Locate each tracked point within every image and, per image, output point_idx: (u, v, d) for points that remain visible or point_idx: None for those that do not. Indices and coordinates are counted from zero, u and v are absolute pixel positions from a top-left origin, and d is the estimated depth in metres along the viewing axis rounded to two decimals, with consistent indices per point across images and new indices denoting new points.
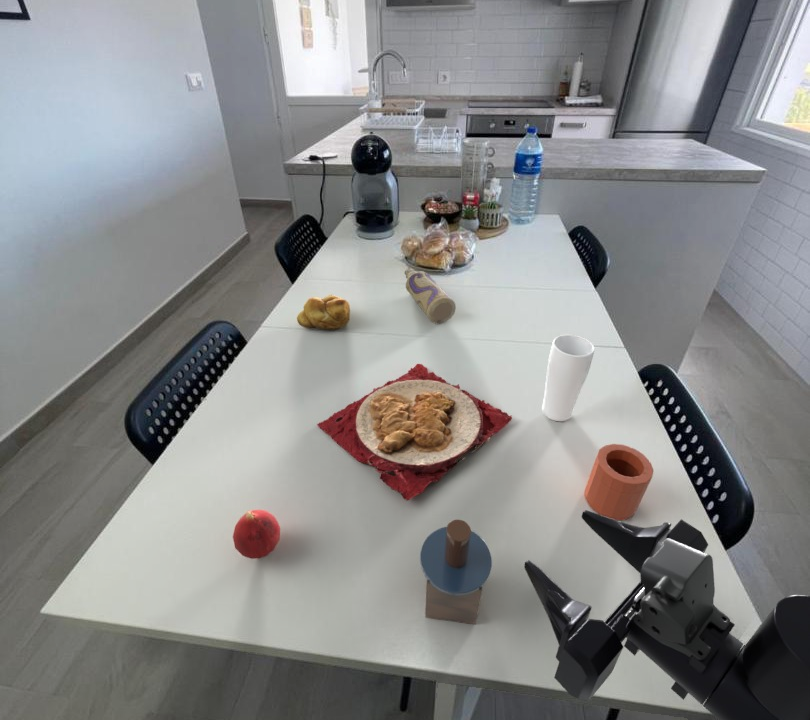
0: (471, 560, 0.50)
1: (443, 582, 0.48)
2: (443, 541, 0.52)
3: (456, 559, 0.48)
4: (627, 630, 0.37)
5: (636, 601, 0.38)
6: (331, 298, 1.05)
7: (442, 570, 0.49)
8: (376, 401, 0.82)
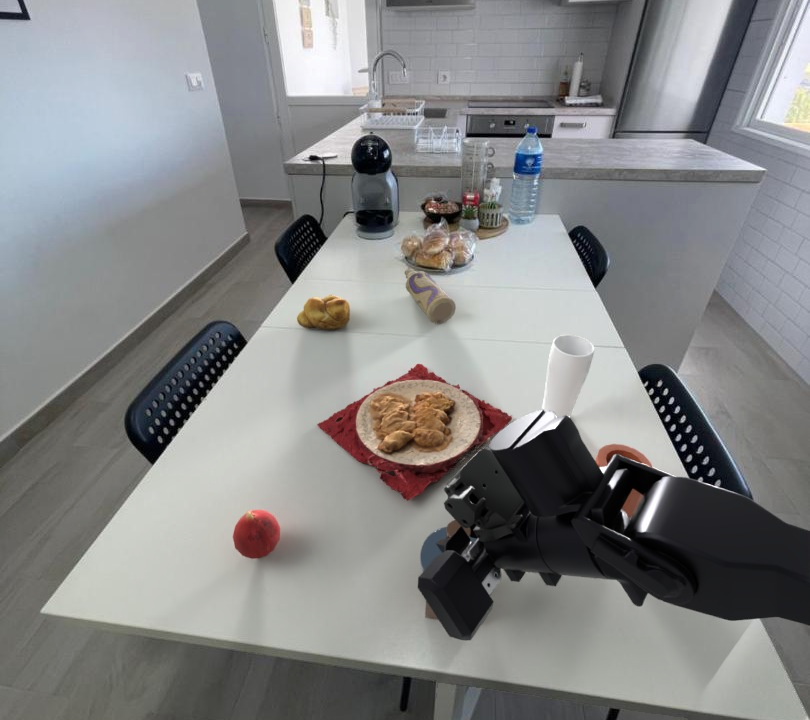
0: None
1: None
2: None
3: None
4: (486, 555, 0.40)
5: (468, 553, 0.40)
6: (331, 298, 1.05)
7: None
8: (376, 401, 0.82)
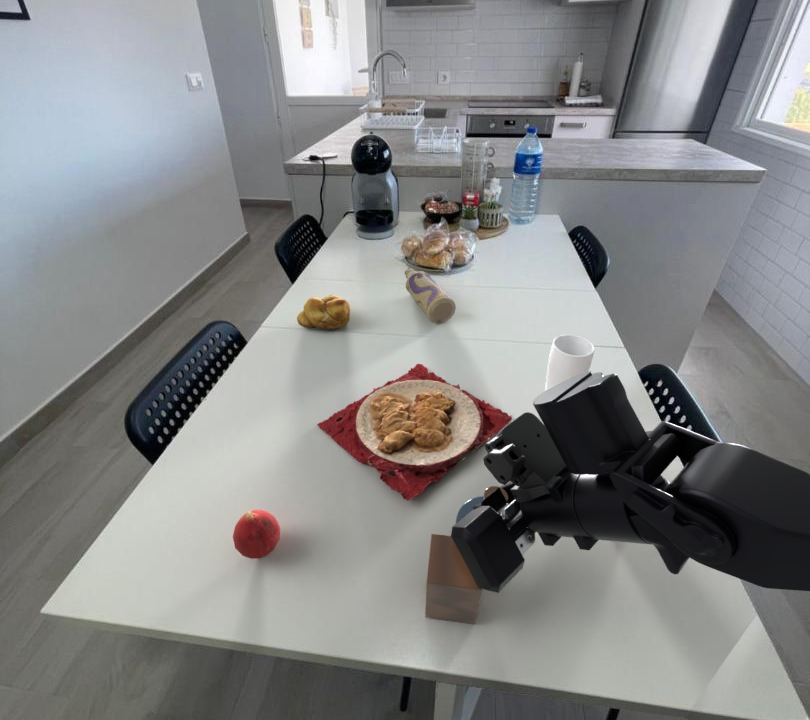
0: None
1: None
2: None
3: None
4: (521, 516, 0.41)
5: (504, 512, 0.41)
6: (331, 298, 1.05)
7: None
8: (376, 401, 0.82)
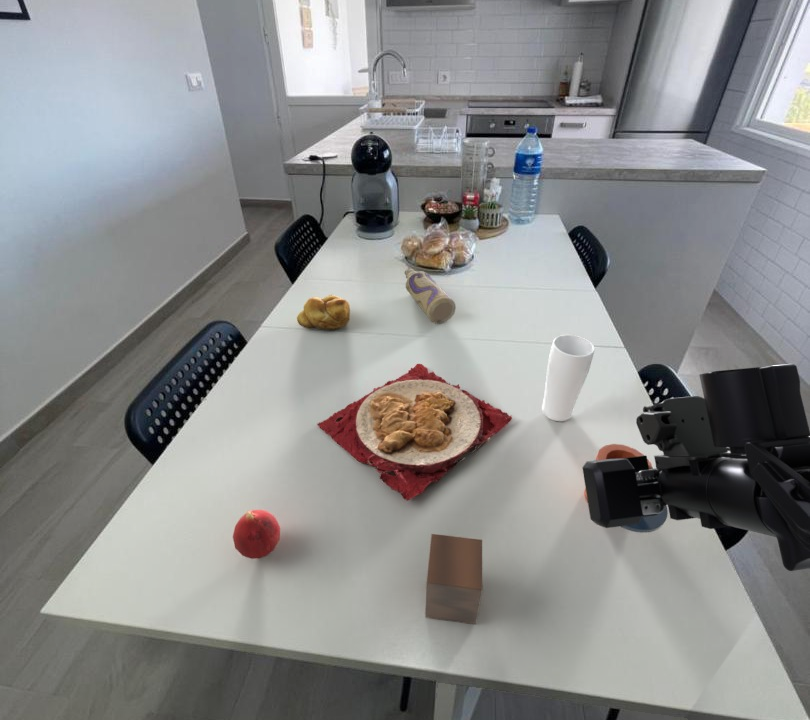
0: None
1: None
2: None
3: None
4: (656, 483, 0.44)
5: (640, 472, 0.44)
6: (331, 298, 1.05)
7: None
8: (376, 401, 0.82)
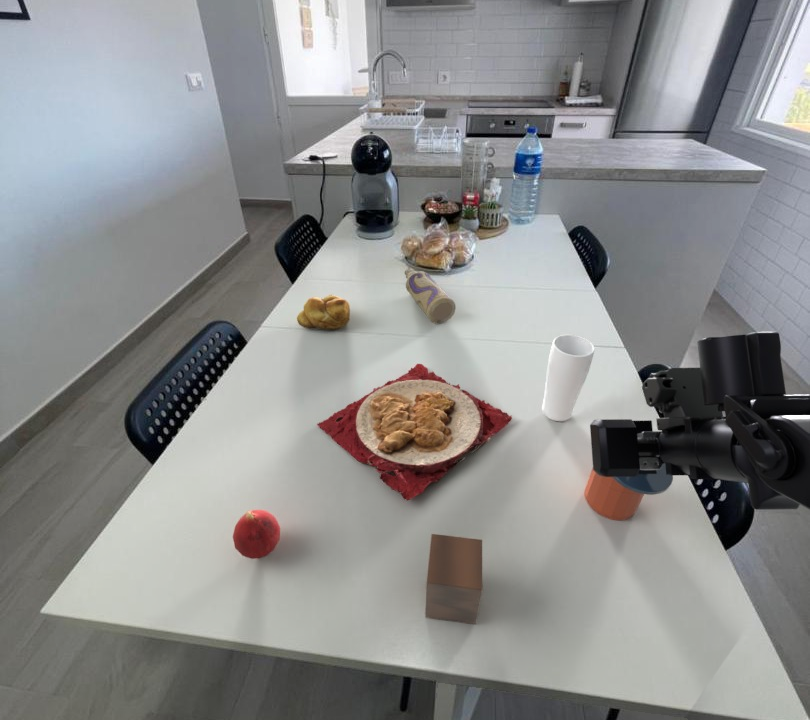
0: (650, 476, 0.57)
1: None
2: None
3: None
4: (656, 442, 0.49)
5: (642, 432, 0.49)
6: (331, 298, 1.05)
7: None
8: (376, 401, 0.82)
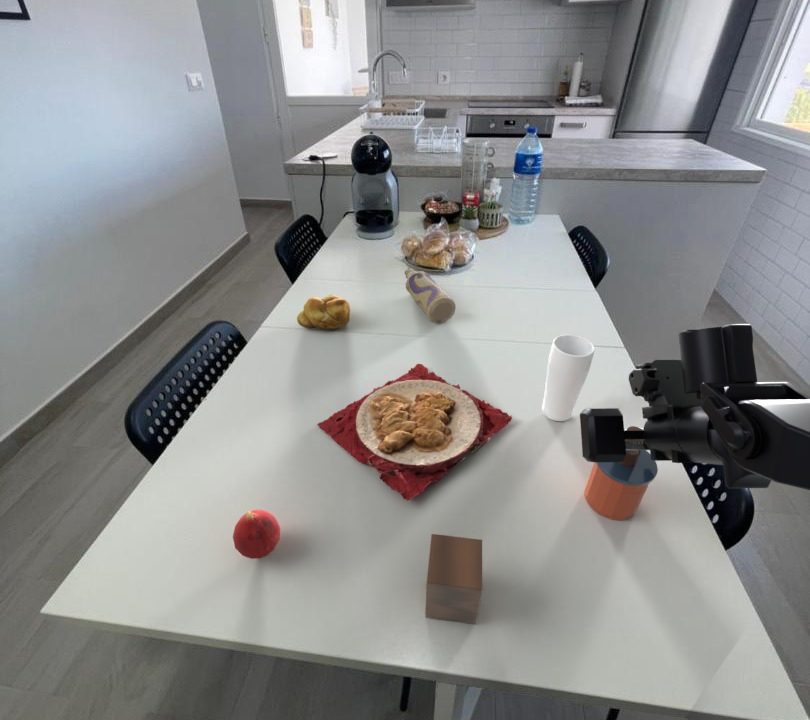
0: (636, 468, 0.60)
1: (604, 463, 0.61)
2: None
3: None
4: None
5: None
6: (331, 298, 1.05)
7: None
8: (376, 401, 0.82)
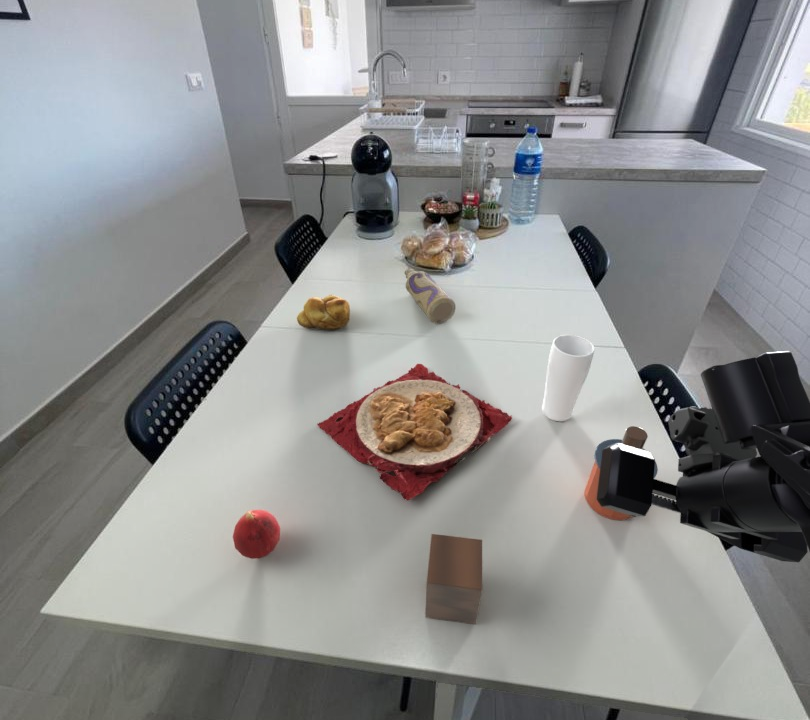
0: None
1: None
2: None
3: None
4: (674, 485, 0.43)
5: None
6: (331, 298, 1.05)
7: None
8: (376, 401, 0.82)
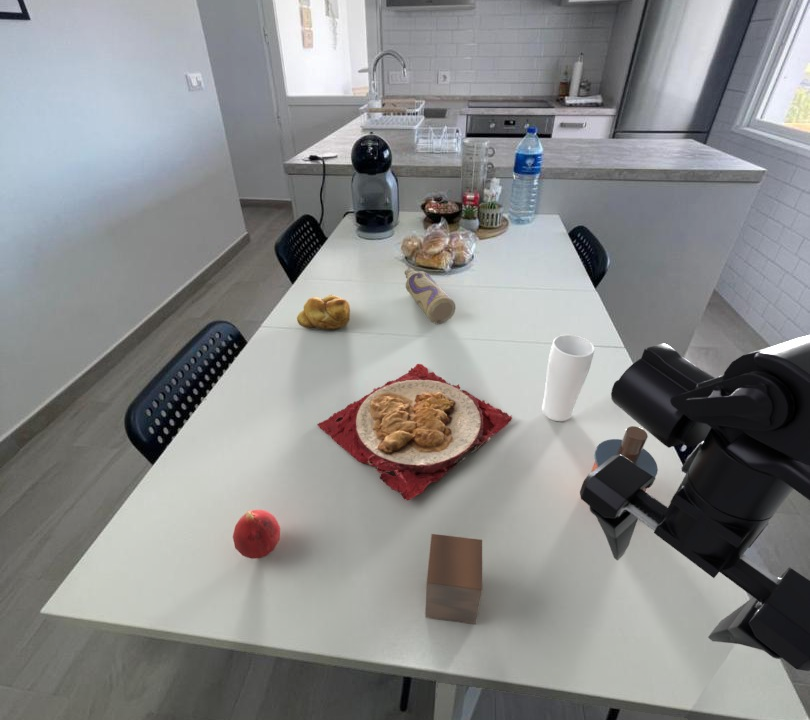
0: None
1: None
2: None
3: (623, 455, 0.60)
4: (666, 508, 0.39)
5: None
6: (331, 298, 1.05)
7: None
8: (376, 401, 0.82)
